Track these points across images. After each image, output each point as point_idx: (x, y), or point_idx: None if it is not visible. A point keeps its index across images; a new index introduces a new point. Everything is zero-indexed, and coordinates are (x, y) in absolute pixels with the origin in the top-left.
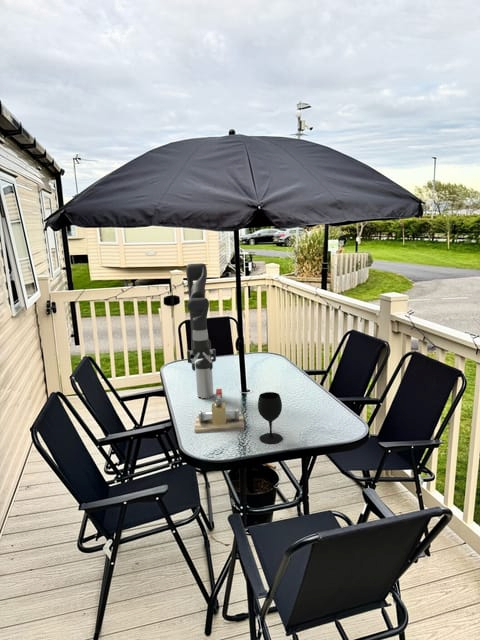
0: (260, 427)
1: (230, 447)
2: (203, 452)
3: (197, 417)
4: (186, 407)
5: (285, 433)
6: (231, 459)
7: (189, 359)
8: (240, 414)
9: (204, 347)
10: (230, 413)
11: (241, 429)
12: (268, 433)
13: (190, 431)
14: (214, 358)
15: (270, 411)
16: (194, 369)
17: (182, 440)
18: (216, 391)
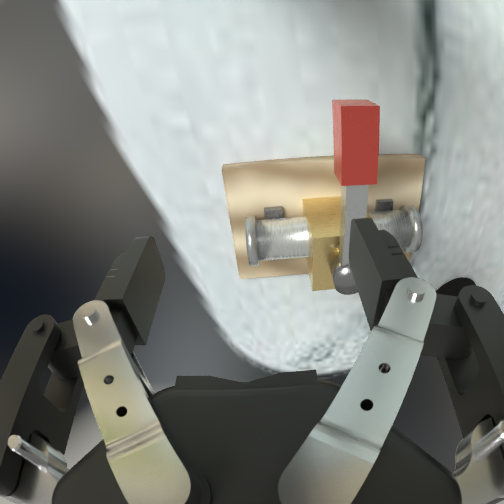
0: (451, 242)
1: (351, 338)
2: (285, 356)
3: (227, 180)
4: (136, 31)
5: (489, 275)
6: (347, 371)
7: (70, 401)
8: (415, 161)
9: None
10: None
11: None
12: (456, 285)
13: (223, 263)
14: (462, 376)
15: None
16: (157, 290)
17: (215, 312)
18: (344, 155)
